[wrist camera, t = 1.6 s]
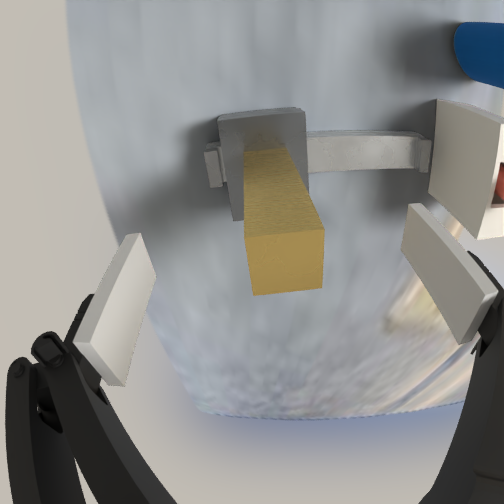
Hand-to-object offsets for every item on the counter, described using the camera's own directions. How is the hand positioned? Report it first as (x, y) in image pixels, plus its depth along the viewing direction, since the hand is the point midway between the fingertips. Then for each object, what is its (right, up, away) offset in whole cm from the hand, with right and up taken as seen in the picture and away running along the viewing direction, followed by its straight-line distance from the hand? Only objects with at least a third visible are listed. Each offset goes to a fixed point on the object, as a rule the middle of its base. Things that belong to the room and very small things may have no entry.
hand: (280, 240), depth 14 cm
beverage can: (+20, +19, +3) cm, 28 cm away
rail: (+5, +8, +10) cm, 14 cm away
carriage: (0, +8, +10) cm, 13 cm away
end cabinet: (+19, +10, +10) cm, 24 cm away
